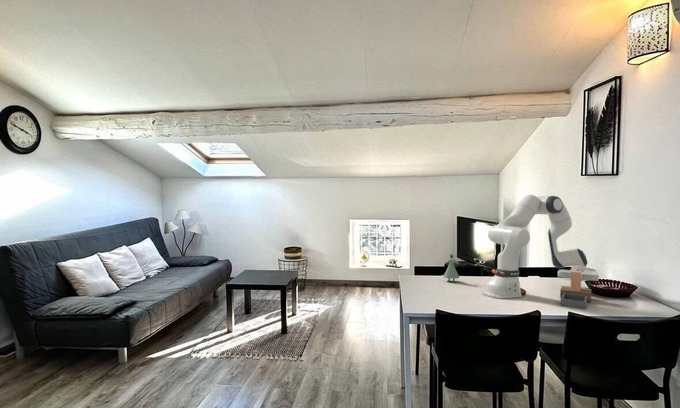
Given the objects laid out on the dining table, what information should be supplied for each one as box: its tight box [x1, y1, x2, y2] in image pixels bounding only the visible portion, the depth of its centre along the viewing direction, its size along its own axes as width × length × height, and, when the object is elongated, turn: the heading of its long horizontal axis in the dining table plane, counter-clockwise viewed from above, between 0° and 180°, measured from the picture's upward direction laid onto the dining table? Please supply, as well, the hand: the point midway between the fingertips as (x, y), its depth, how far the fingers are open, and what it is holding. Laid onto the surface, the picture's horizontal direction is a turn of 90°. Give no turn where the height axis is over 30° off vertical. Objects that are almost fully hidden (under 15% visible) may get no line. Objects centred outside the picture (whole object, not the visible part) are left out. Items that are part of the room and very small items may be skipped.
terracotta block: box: [570, 270, 582, 291], centre depth 213 cm, size 6×4×10 cm
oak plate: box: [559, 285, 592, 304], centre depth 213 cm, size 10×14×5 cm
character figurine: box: [441, 254, 464, 282], centre depth 254 cm, size 16×8×18 cm, turn 80°
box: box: [560, 293, 588, 310], centre depth 202 cm, size 15×11×4 cm
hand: (577, 277), depth 219 cm, fingers closed
